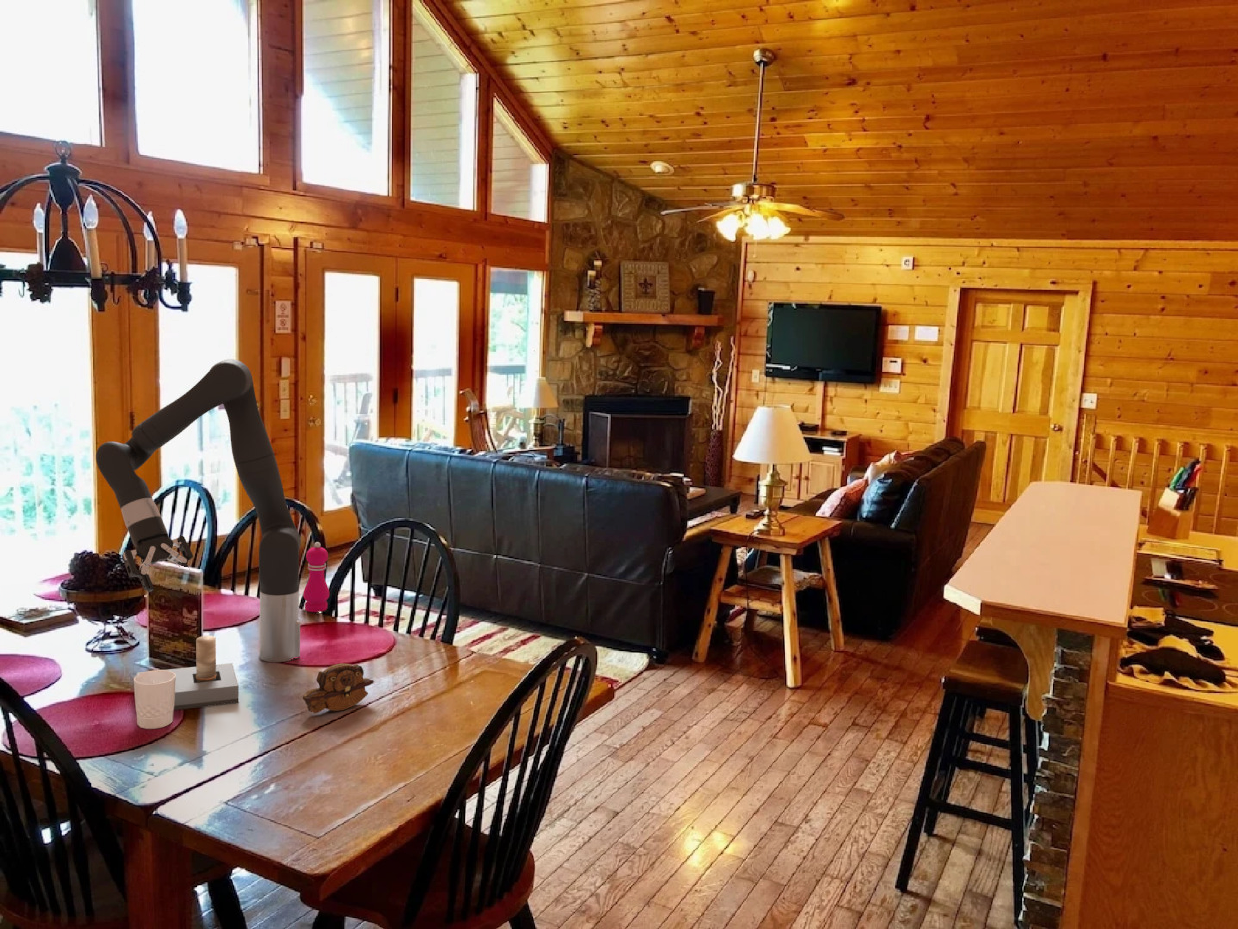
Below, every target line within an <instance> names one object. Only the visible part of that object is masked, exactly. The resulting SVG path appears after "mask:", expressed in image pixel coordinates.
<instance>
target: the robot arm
mask: <svg viewBox="0 0 1238 929" xmlns="http://www.w3.org/2000/svg"><path fill="white" fill-rule="evenodd" d="M255 392H256V391H255V386H254V380H253V375H252V373H251V370H250V369H249V367H248V366H247V365H246V364H245V363H243V362H242V361H240V360H238V359H233V358H228V359H224V360H221V361H219V362H217V363H215V364H214V365H213V366H212V367H211V368H210V369H209V370H208V372H206V374H205V375H204V376H203V377H201V378H200V379H199V381H198V382H197V383H196V384H194V385H193V386H192V387H191V388H190V389H189V390H188V391H187V392H185V393H184V394H182V395H180V396H179V397H178V398H176V399H175V400H174V401H172V402H171V403H169V404H167V405H165V406H164V407H163V408H161V409H159V410H158V411H156V412H155V413H153V414H152V415H150V416H149V417H147V418H146V419H145V420H143V421H142V422H141V423H139V424H138V425H136V426H135V427H134V428H133V429H132V432H131V437H130V438H129V439H128V440H127V441H126V442H125V443H120V442H117V441H106V442H104V443H102V444H101V445H99V447H98V448H97V450H96V454H95V462H96V465H97V467H98V469H99V471H100V473H101V475H102V477H103V478H104V479H105V481H106V483H107V484H108V485H109V487H110V488H111V490H112V491H113V493H114V495H115V498H116V500H117V503H118V506H119V508H120V511H121V514H122V518H123V521H124V526H125V527H126V529H127V531H128V534H129V536H130V537H129V538H130V539H131V542H132V544H133V546H134V549H132V550H131V549H126V550H125V551H124V552H123V554H122V555H121V556H122V559H123V562H124V565H125V569H126V572H127V574H128V575H127V576H128V577H129V578H139V580H140V582H141V585H142V588H143V590H145V591H146V592H148V593H150V592H152V591H154V589H155V587H154V585H153V582H152V580H151V577H150V575H149V573H148V570H149V567H150V565H154V564H156V563H159V562H160V563H161V562H165V561H166V560H167V561H169V562H173V563H174V564H176V565H177V564H178V565H177V566H179V565H181V566H184V567H188V568H189V565H188V562H189V561H191V560H192V559H193V558H194V555H193V552H192V551H191V548H190V546H189V544H188V541H187V539H186V537H185V536H184V535H179V537H177V538H174V539H172V538H171V537H170V536H169V533H168V530H167V528H166V526H165V523H164V521H163V518H162V516H161V513H160V511H159V508H158V506H157V504H156V503H155V501H154V499H153V496H152V494H151V491H150V490H149V487H148V483H147V482H146V481H145V480H144V479H143V478H142V477H140V476H139V475H137V473H136V471H137V470H139V469H140V467H141V468H142V466H143V465H144V464H145V463H146V462H147V461H148V460H149V459H150V458H151V457H152V456H153V454H154V453H155V452H156V451H157V450H158V449H160V448H162V447H163V446H165V445H166V444H168V442H170V441H172V440H173V439H174V438H176V437H177V436H178V435H180V434H181V433H182V432H184V430H186V429H187V428H188V427H189V426H191V424H193V423H195V421H197V420H198V419H199V418H201V417H202V416H204V415H205V414H206V413H208V412H210V411H211V410H213V409H215V408H217V407H218V406H221V405H223V407H224V410H225V412H226V415H227V419H228V425H229V434H230V435H229V436H230V445H231V446H230V448H231V454H232V458H233V462H234V465H235V468H236V472H237V475H238V477H239V480H240V483H241V485H242V487H243V488H244V490H245V493H246V495H247V496H248V498H249V499H250V501H251V503H252V505H253V507H254V508H255V511H256V515H257V519H258V523H259V527H260V532H261V539H260V542H259V547H258V581H259V639H258V640H259V643H258V644H259V645H258V646H259V647H258V648H259V649H258V650H259V651H258V652H259V654H258V656H259V659H260V660H261V661H264V662H267V663H268V662H269V663H282V662H283V663H285V662H288V661H289V662H290V661H291V660H290V659H292V658H294V657H299V656H300V657H301V655H300V654H301V652H300V651H301V621H300V619H299V618H300V616H299V614H300V605H299V604H300V576H299V574H300V571H299V570H300V569H299V568H300V566H299V565H300V564H299V563H300V548H301V544H302V542H301V540H302V539H301V536H300V534H299V531H298V529H297V527H296V524H295V522H294V520H293V518H292V516H291V512H290V511H289V507H288V505H287V504H288V503H287V501H286V498H285V492H284V488H283V482H282V478H281V475H280V471H279V470H280V469H279V466H278V462H277V459H276V457H275V453H274V449H273V447H272V446H273V445H272V444H271V441H270V439H269V438H270V437H269V436H268V433H267V430H266V427H265V424H264V422H263V419H262V417H261V414H260V412H259V406H258V403H257V402H258V401H257V397H256V393H255ZM173 546H175V547H176V548H178V549H179V552H180V553H179V552H178V551H176V550H175V549H173ZM136 556H137V557H138V558H140V559H142V560H141V563H140V566H139V569H138V568H137V565H136V562H135V558H136ZM189 569H190V568H189ZM147 573H148V574H147ZM292 660H293V659H292Z"/></svg>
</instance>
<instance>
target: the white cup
mask: <svg viewBox="0 0 1238 929" xmlns="http://www.w3.org/2000/svg"><path fill="white" fill-rule="evenodd" d="M167 670H168V669H154V670H148V671H142V672H143V673H141V674H138V675H137V674H136V675H135V676H134V677H133V685H134V688H133V689H134V702H135V703H134V704H135V712H136V724H137V726H139V728H142V729H147V730H153V729H154V730H155V729H161V728H164V727H166V726H167V727H168V726H169V725H170V724H171V723H173V721H174V710H173V709H174V703H175V684H176V674H175V673H174V672H171V671H167Z"/></svg>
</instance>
